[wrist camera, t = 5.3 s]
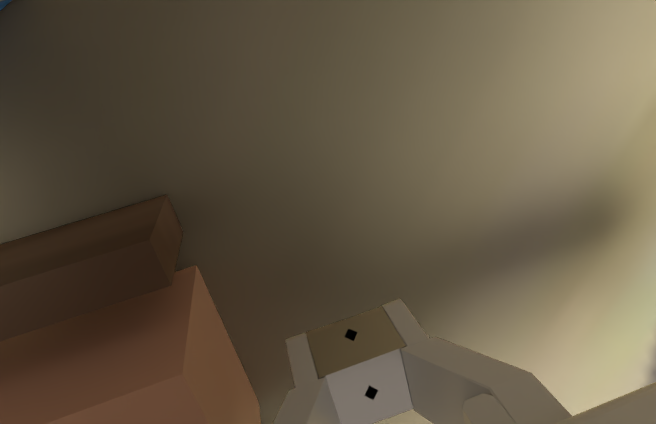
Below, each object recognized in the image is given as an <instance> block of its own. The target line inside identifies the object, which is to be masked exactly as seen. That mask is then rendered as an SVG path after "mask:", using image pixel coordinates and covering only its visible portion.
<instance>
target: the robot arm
mask: <svg viewBox="0 0 656 424" xmlns="http://www.w3.org/2000/svg"><path fill="white" fill-rule="evenodd" d="M286 348H287V353H288V358H289V363H290V368H291V373H292V378H293V382H294V387H295V388H294V389H291V390H289V391H288V393H287V395H286V397H285V399H284V401H283V403H282V405H281V407H280V409H279V411H278V413H277V415H276V417H275V419H274V421H273V424H373V423H375V422H378V421H380V420H383V419H386V418H389V417H392V416H395V415H397V414H400V413H403V412H406V411H409V410H411V409H414V411H416V412H417V413H419V414H420V415H422V416H423V417H425V418H426V419H428V420H429V421H431V422H432V423H434V424H656V382H655V383H652V384H650V385H647V386H645V387H642V388H640V389H638V390H635V391H633V392H630V393H628V394H625V395H623V396H621V397H618V398H616V399H613V400H611V401H608V402H606V403H603V404H601V405H599V406H596V407H594V408H591V409H589V410H586V411H584V412H581V413H579V414H577V415H574V416H572V415H571V414H570V413H569V412H568V411H567V410H566V409H565V408H564V407H563V406H562V405H561V404H560V403H559V402H558V401H557V399H556V398H555V397H554V396H553V395H552V394H551V393H550V392H549V391H548V390H547V389H546V388H545V387H544V386H543V385H542V384H541V382H540V381H539V380H538V379H537V378H536V377H535V376H534V375H533V374H532V373H530V372H528V371H525V370H522V369H520V368H517V367H514V366H512V365H509V364H507V363H504V362H501V361H499V360H496V359H493V358H491V357H488V356H485V355H483V354H480V353H477V352H475V351H472V350H469V349H467V348H464V347H462V346H459V345H456V344H454V343H451V342H448V341H446V340H443V339H440V338H438V337H432V338H429V337H428V336H427V335H426V333H425V332H424V330H423V329H422V328H421V326H420V325H419V323H418V322H417V321H416V319H415V318H414V316H413V315H412V313H411V312H410V311H409V309H408V308H407V306H406V305H405V304H404V302H403V301H402V300H401V299H397V300H394V301H392V302H389V303H386V304H384V305H381V307H377V308H375V309H372V310H369V311H366V312H364V313H361V314H358V315H355V316H353V317H350V318H347V319H344V320H341V321H338V322H335V323H331V324H328V325H325V326H322V327H319V328H316V329H313V330H310V331H307V332H306V333H302V334H299V335H296V336H293V337H290V338H287V339H286Z"/></svg>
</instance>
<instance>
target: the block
mask: <svg viewBox="0 0 656 424" xmlns="http://www.w3.org/2000/svg"><path fill="white" fill-rule="evenodd" d="M0 424H261V418H260V408H259V402H258V399H257V397H256V395H255V393H254V391H253V388H252V386H251V384H250V382H249V380H248V377H247V375H246V373H245V371H244V369H243V366H242V364H241V362H240V360H239V358H238V355H237V353H236V351H235V349H234V347H233V344H232V342H231V340H230V338H229V335H228V333H227V331H226V329H225V327H224V324H223V322H222V320H221V318H220V316H219V313H218V311H217V309H216V307H215V305H214V302H213V300H212V298H211V296H210V294H209V291H208V289H207V287H206V285H205V283H204V280H203V278H202V276H201V274H200V272H199V269H198V267H197V265H195V266H192V267H189V268H186V269H183V270H180V271H177V272H174V276H173V280H172V285H171V286H169V287H166V288H163V289H160V290H157V291H154V292H151V293H148V294H145V295H142V296H138V297H135V298H132V299H129V300H126V301H123V302H120V303H117V304H114V305H111V306H108V307H105V308H102V309H99V310H96V311H93V312H89V313H86V314H83V315H80V316H77V317H74V318H71V319H68V320H65V321H62V322H59V323H56V324H53V325H50V326H47V327H44V328H40V329H37V330H34V331H31V332H28V333H25V334H22V335H19V336H16V337H13V338H10V339H7V340H4V341H1V342H0Z"/></svg>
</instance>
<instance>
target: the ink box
mask: <svg viewBox="0 0 656 424" xmlns="http://www.w3.org/2000/svg"><path fill="white" fill-rule="evenodd" d="M11 1H12V0H0V11H1V10H2V9H3V8H4V7H5V6H6V5H7V4H8V3H10V2H11Z"/></svg>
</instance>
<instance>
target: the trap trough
mask: <svg viewBox="0 0 656 424" xmlns="http://www.w3.org/2000/svg"><path fill="white" fill-rule="evenodd" d="M182 236H183V230H182V228H181V225H180V223H179V221H178V218H177V216H176V214H175V211H174V209H173V207H172V205H171V202H170V200H169V198H168V195H164V196H160V197H157V198H154V199H150V200H147V201H144V202H140V203H137V204H134V205H131V206H127V207H124V208H121V209H117V210H114V211H111V212H107V213H104V214H101V215H97V216H94V217H91V218H87V219H84V220H81V221H77V222H74V223H71V224H67V225H64V226H61V227H57V228H54V229H51V230H47V231H44V232H41V233H37V234H34V235H31V236H27V237H24V238H21V239H17V240H14V241H11V242H7V243H4V244H1V245H0V342H1V341H4V340H7V339H10V338H13V337H16V336H19V335H22V334H25V333H28V332H31V331H34V330H37V329H40V328H44V327H47V326H50V325H53V324H56V323H59V322H62V321H65V320H68V319H71V318H74V317H77V316H80V315H83V314H86V313H89V312H93V311H96V310H99V309H102V308H105V307H108V306H111V305H114V304H117V303H120V302H123V301H126V300H129V299H132V298H135V297H138V296H142V295H145V294H148V293H151V292H154V291H157V290H160V289H163V288H166V287H169V286H171V285H172V280H173V276H174V271H175V267H176V262H177V258H178V254H179V249H180V245H181V240H182Z"/></svg>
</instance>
